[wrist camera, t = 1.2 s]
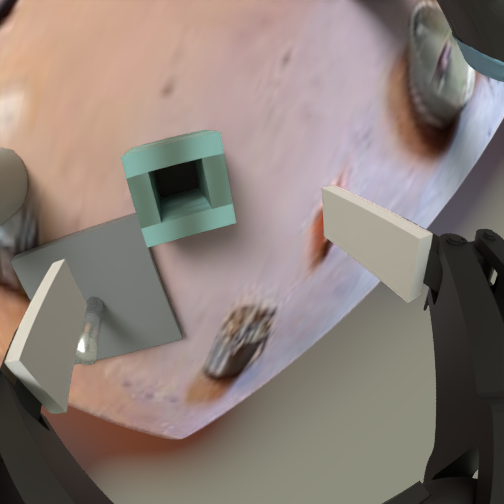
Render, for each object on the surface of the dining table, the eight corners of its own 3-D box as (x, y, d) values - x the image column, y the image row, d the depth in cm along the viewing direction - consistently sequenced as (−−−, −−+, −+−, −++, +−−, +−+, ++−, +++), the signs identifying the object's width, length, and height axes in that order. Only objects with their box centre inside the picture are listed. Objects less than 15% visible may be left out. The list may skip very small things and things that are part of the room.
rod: (99, 294, 30) (88, 346, 22) (107, 310, 31) (99, 362, 24) (83, 299, 30) (69, 350, 22) (91, 314, 31) (81, 366, 23)
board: (138, 212, 29) (137, 216, 28) (181, 331, 38) (182, 338, 37) (14, 255, 25) (10, 261, 24) (74, 357, 34) (73, 364, 33)
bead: (204, 129, 28) (220, 131, 21) (218, 199, 31) (236, 223, 25) (131, 148, 26) (120, 156, 19) (149, 217, 30) (147, 247, 23)
